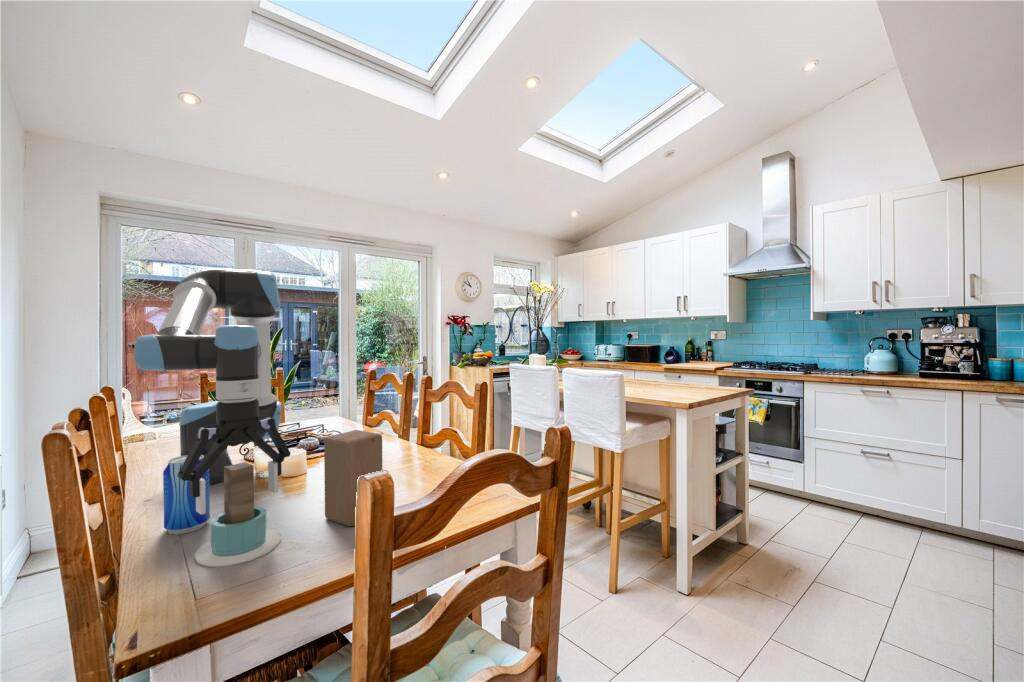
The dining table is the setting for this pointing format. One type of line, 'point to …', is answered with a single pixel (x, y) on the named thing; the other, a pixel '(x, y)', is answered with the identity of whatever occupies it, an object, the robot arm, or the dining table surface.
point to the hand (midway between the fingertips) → (239, 501)
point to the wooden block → (348, 470)
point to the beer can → (182, 500)
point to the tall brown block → (239, 493)
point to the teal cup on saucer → (237, 541)
